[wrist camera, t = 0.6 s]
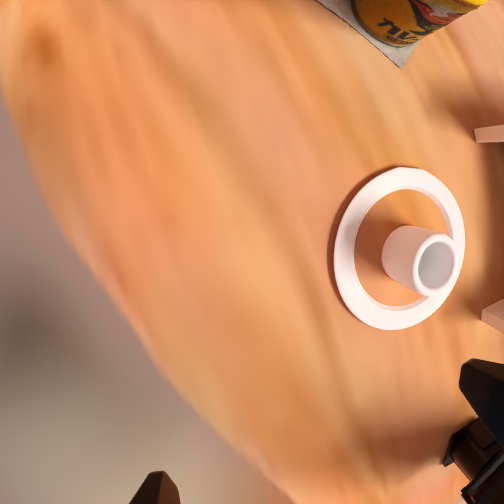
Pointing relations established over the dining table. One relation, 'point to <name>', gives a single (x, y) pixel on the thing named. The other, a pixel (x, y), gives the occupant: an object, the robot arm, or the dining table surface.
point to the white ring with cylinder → (402, 252)
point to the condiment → (399, 21)
